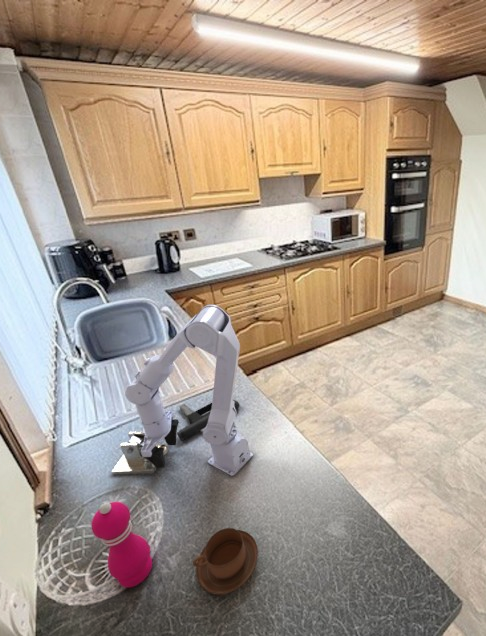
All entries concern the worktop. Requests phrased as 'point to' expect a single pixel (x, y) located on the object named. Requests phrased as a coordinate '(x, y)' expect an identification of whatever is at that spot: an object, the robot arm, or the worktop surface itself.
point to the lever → (139, 440)
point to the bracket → (133, 458)
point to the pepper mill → (122, 544)
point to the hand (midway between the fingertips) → (166, 455)
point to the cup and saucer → (226, 561)
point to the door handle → (196, 420)
